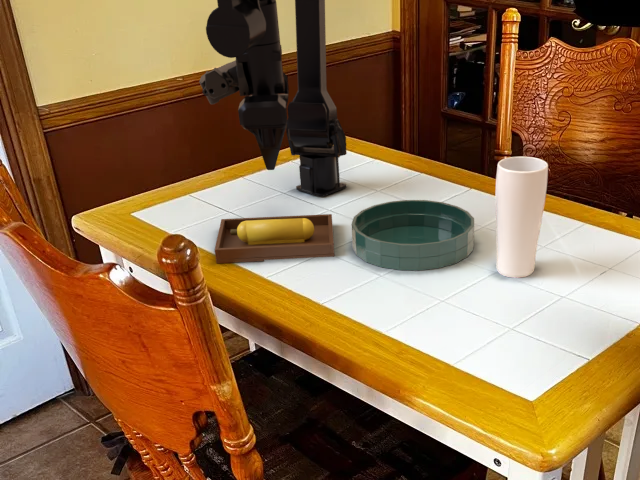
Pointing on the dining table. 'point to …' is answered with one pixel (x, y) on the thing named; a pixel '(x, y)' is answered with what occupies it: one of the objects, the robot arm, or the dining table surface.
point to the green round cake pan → (413, 234)
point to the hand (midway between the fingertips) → (271, 159)
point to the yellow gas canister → (274, 231)
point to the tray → (239, 251)
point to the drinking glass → (519, 213)
